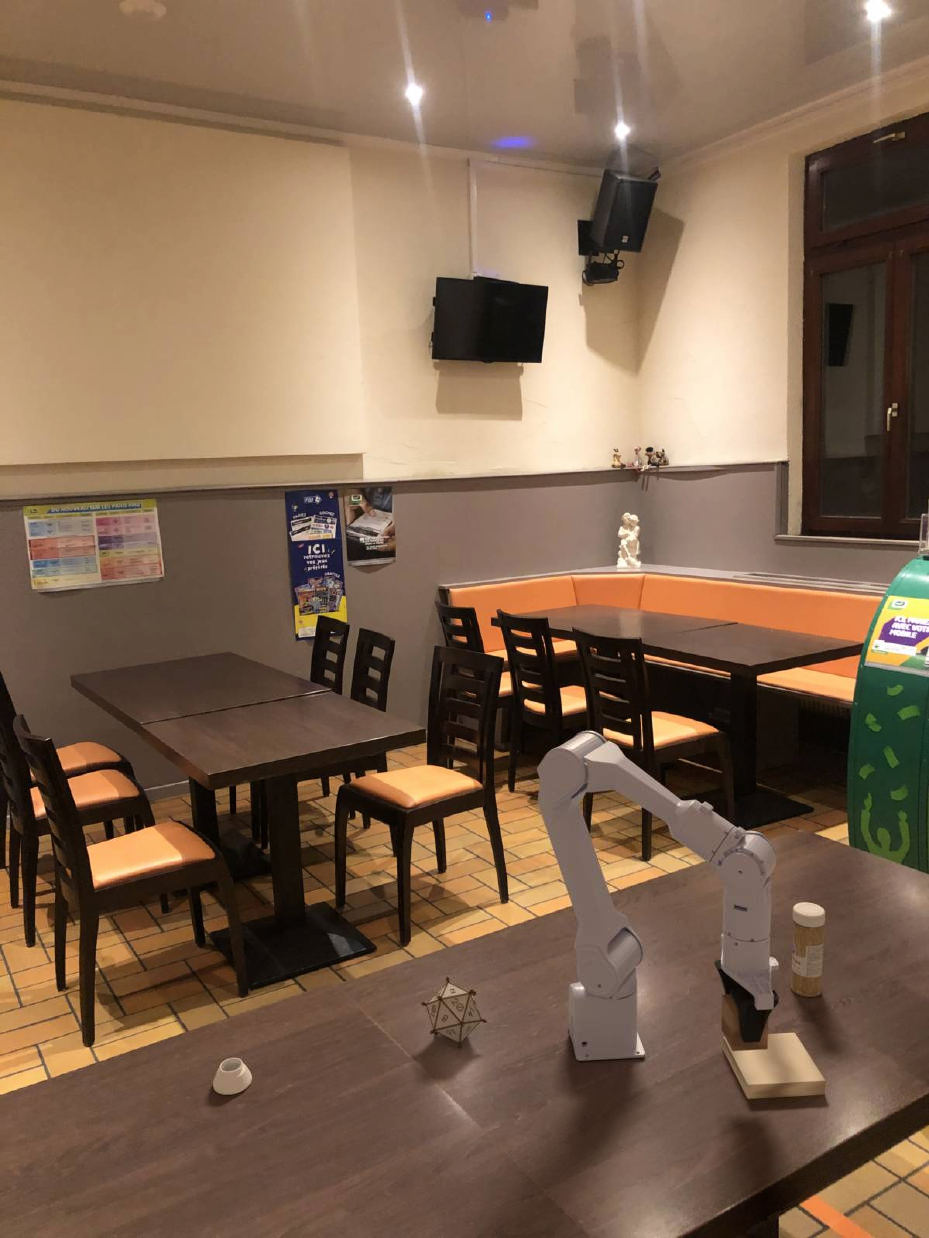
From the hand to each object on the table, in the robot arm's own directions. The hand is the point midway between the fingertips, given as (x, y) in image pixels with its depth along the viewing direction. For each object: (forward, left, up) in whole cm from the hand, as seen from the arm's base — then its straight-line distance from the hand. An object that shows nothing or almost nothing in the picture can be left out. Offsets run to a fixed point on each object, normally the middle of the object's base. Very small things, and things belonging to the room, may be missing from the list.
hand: (744, 1028), depth 119 cm
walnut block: (0, 0, -2) cm, 2 cm away
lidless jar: (-67, +6, -9) cm, 68 cm away
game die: (-37, +14, -9) cm, 41 cm away
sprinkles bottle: (+17, +21, -9) cm, 28 cm away
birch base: (+5, +3, -9) cm, 10 cm away
